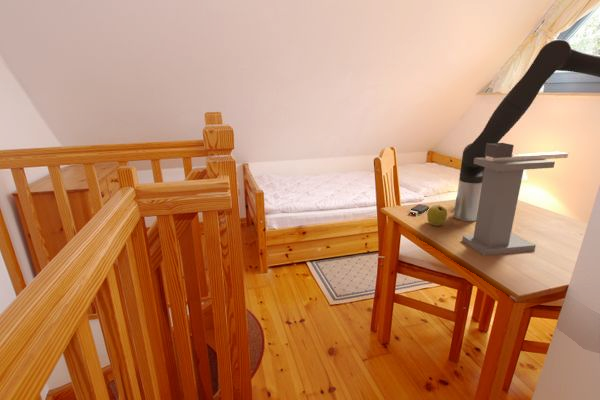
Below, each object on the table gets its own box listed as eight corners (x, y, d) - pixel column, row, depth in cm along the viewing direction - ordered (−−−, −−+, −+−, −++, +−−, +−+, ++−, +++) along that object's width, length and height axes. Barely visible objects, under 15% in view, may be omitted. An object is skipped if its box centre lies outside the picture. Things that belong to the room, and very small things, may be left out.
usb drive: (428, 210, 156) (429, 205, 156) (418, 217, 148) (418, 211, 147) (418, 208, 160) (419, 202, 159) (407, 214, 152) (407, 209, 151)
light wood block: (494, 162, 106) (496, 145, 104) (483, 159, 111) (486, 143, 109) (569, 158, 110) (573, 141, 108) (556, 155, 114) (559, 139, 113)
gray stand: (483, 255, 113) (499, 165, 103) (462, 240, 124) (474, 157, 114) (534, 250, 115) (554, 161, 105) (509, 236, 127) (525, 155, 116)
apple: (420, 219, 142) (429, 198, 139) (436, 223, 144) (445, 202, 141) (428, 226, 135) (438, 204, 132) (445, 230, 136) (455, 209, 133)
